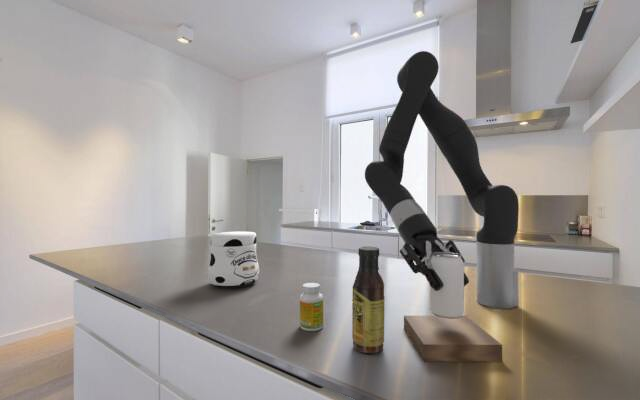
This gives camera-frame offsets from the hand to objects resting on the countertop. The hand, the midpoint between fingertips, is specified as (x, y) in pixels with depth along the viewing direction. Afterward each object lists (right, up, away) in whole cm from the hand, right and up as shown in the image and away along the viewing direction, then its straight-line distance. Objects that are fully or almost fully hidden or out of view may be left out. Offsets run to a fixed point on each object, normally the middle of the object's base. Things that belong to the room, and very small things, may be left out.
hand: (452, 286), depth 60 cm
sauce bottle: (-17, -12, -1) cm, 21 cm away
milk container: (-57, -13, +46) cm, 74 cm away
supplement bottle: (-28, -12, +10) cm, 32 cm away
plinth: (0, -12, +1) cm, 12 cm away
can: (-1, -6, +1) cm, 6 cm away
